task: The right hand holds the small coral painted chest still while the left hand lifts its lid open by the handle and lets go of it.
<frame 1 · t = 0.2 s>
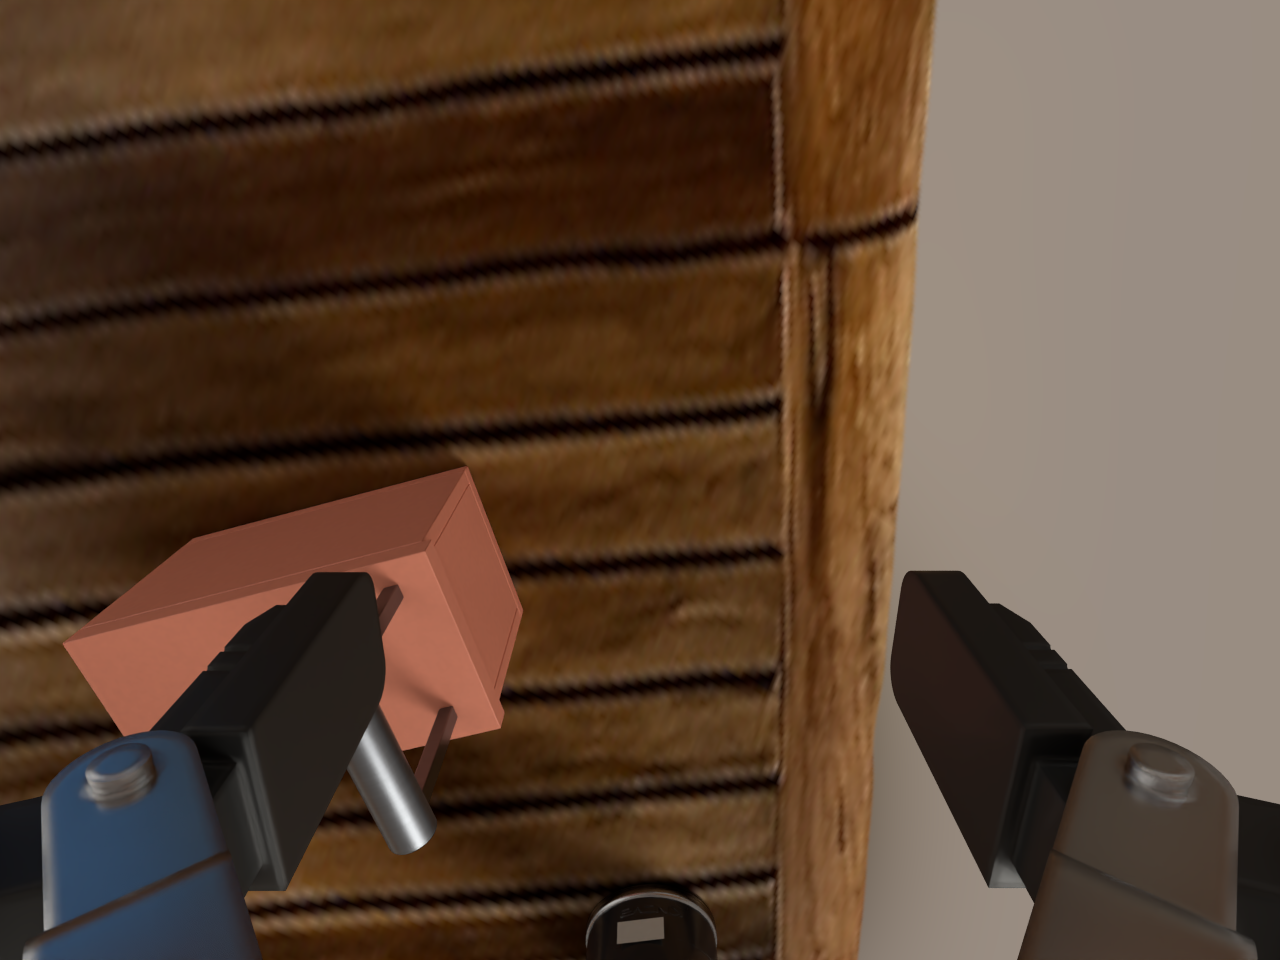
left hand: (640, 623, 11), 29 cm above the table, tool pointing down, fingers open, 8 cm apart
lid: (253, 734, 31), point 14 cm above the table, hinge at 0.0°
chest: (361, 574, 44), on the table
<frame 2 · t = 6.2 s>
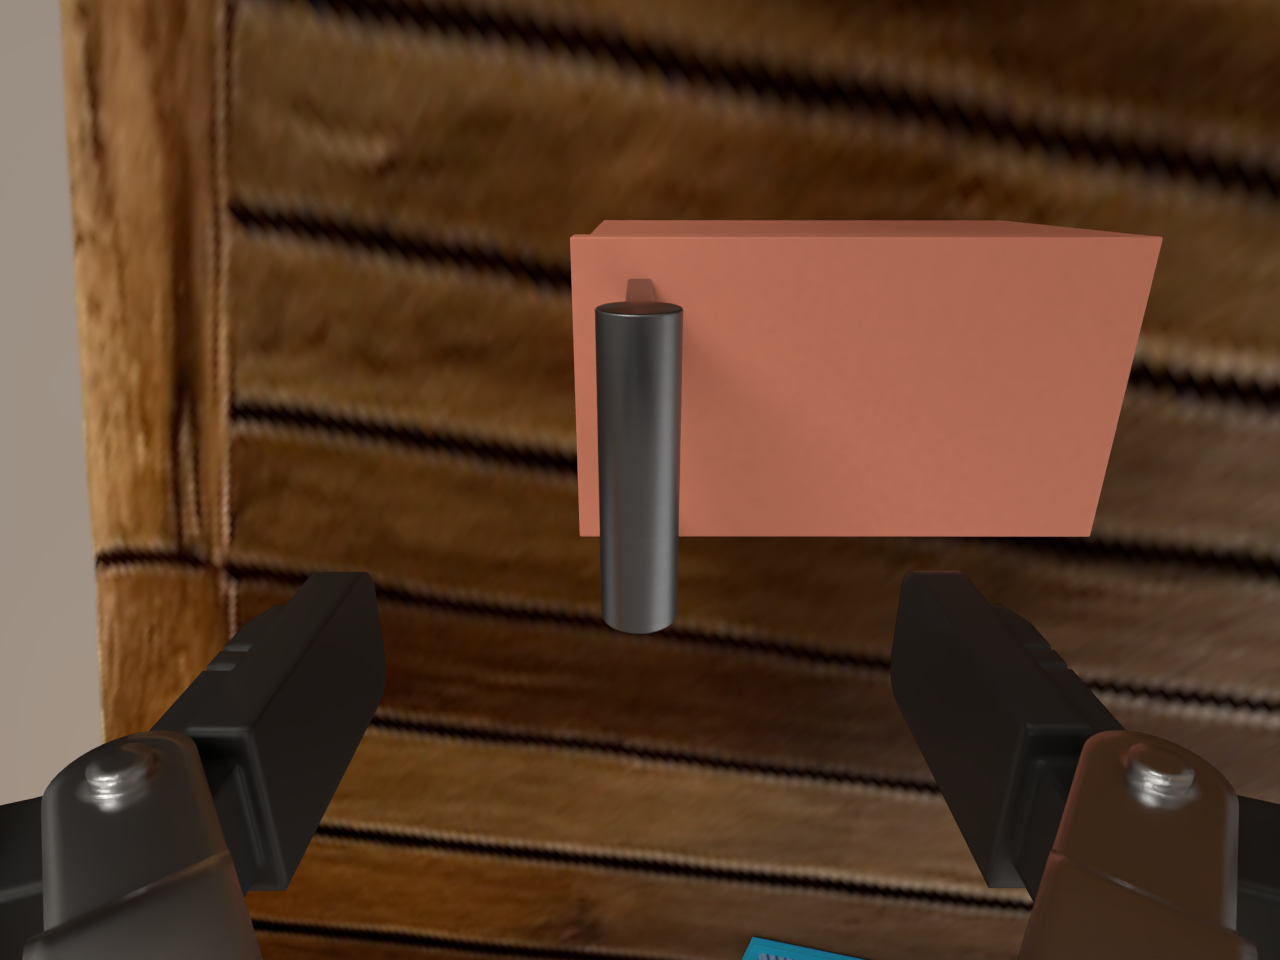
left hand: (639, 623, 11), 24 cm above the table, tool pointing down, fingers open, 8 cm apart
lid: (879, 429, 21), point 14 cm above the table, hinge at 0.0°
chest: (793, 334, 33), on the table
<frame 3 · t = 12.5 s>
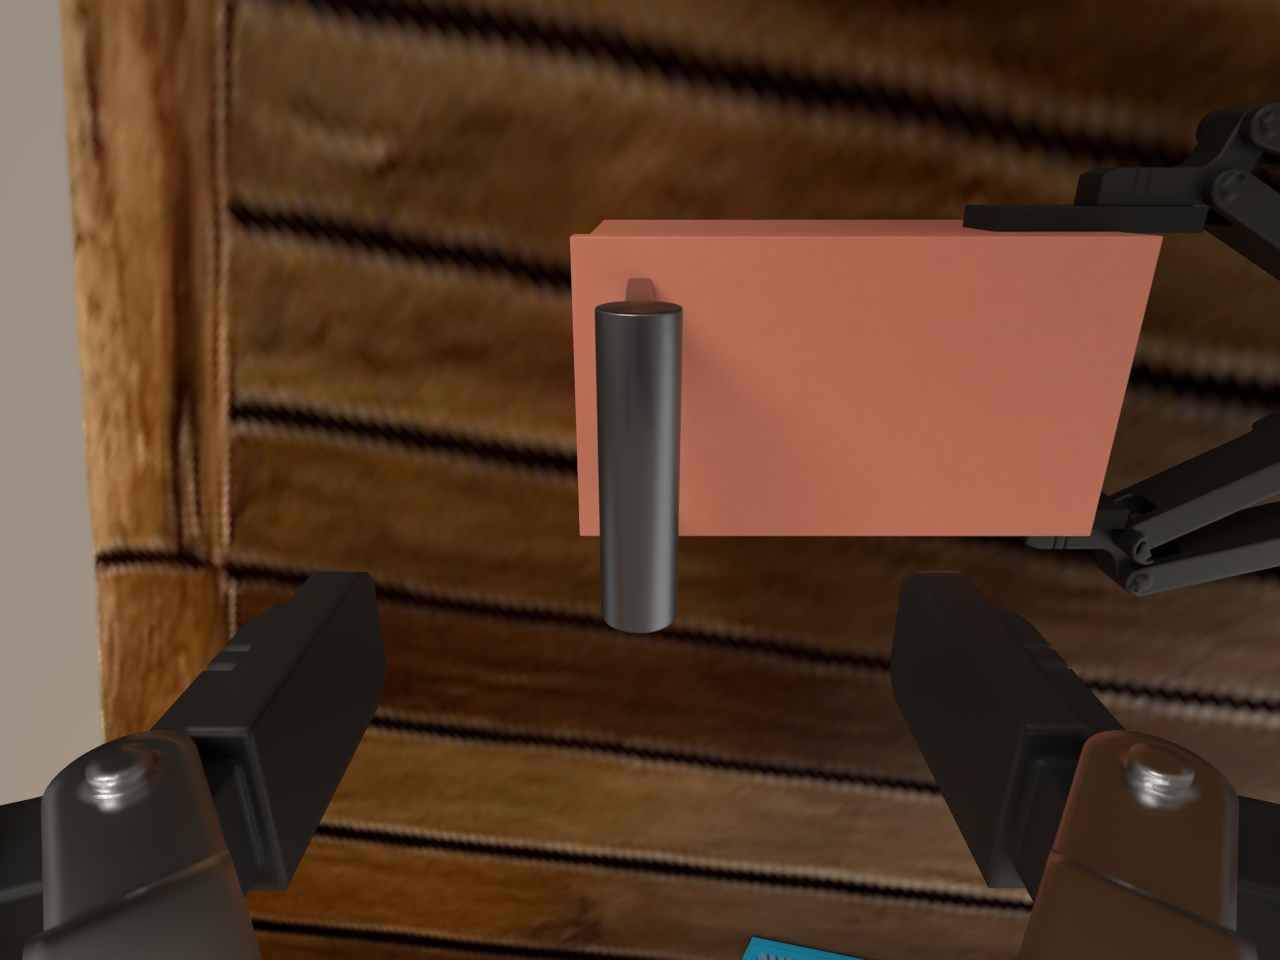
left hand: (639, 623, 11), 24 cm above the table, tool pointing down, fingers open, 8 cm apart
lid: (879, 428, 21), point 14 cm above the table, hinge at 0.0°
chest: (793, 334, 33), on the table, touching right hand
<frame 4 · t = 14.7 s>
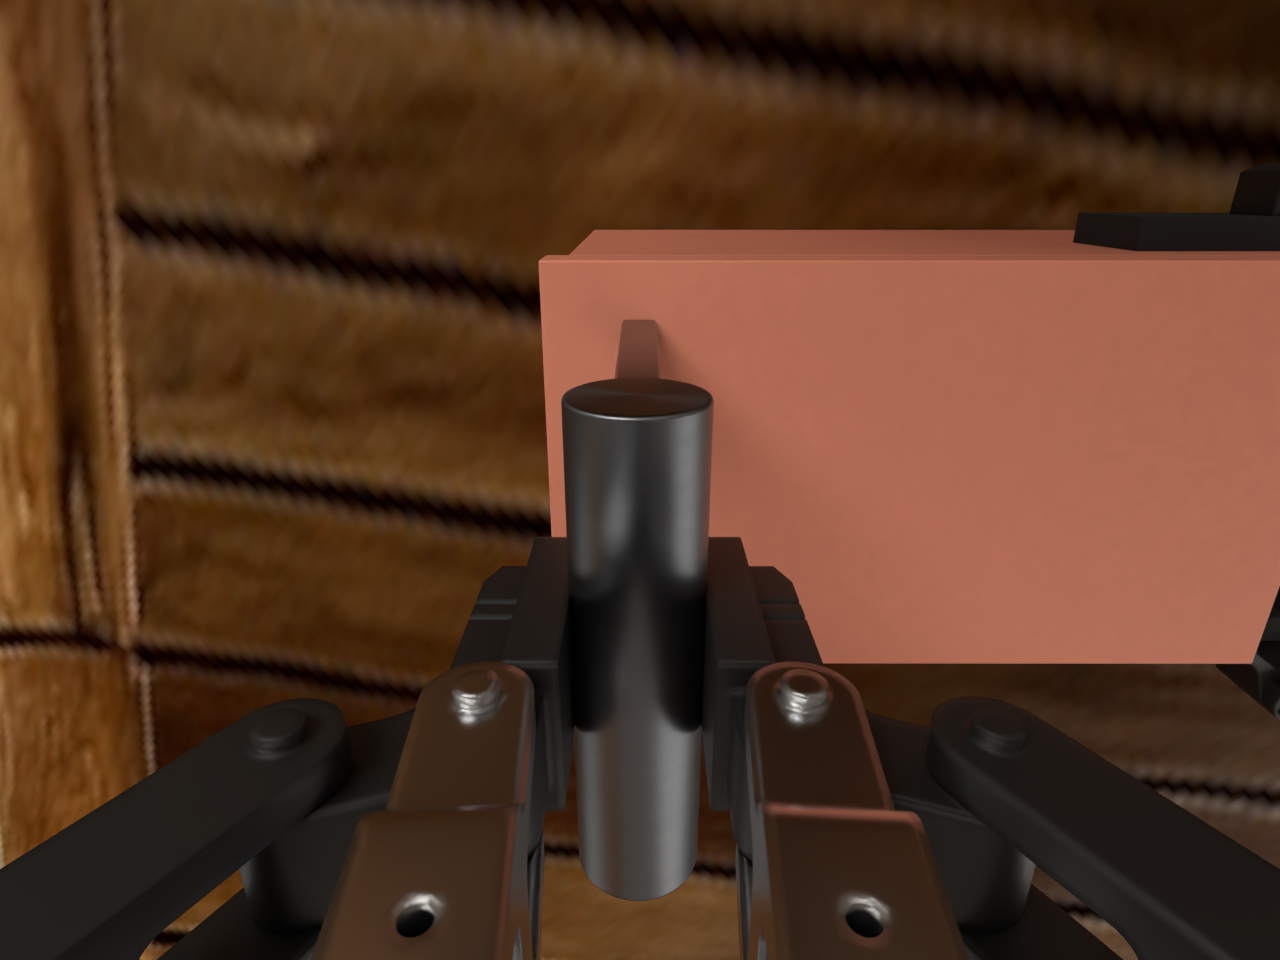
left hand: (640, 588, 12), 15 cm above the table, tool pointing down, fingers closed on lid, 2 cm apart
lid: (994, 547, 14), point 14 cm above the table, hinge at 0.1°, touching left hand
chest: (832, 372, 27), on the table, touching right hand
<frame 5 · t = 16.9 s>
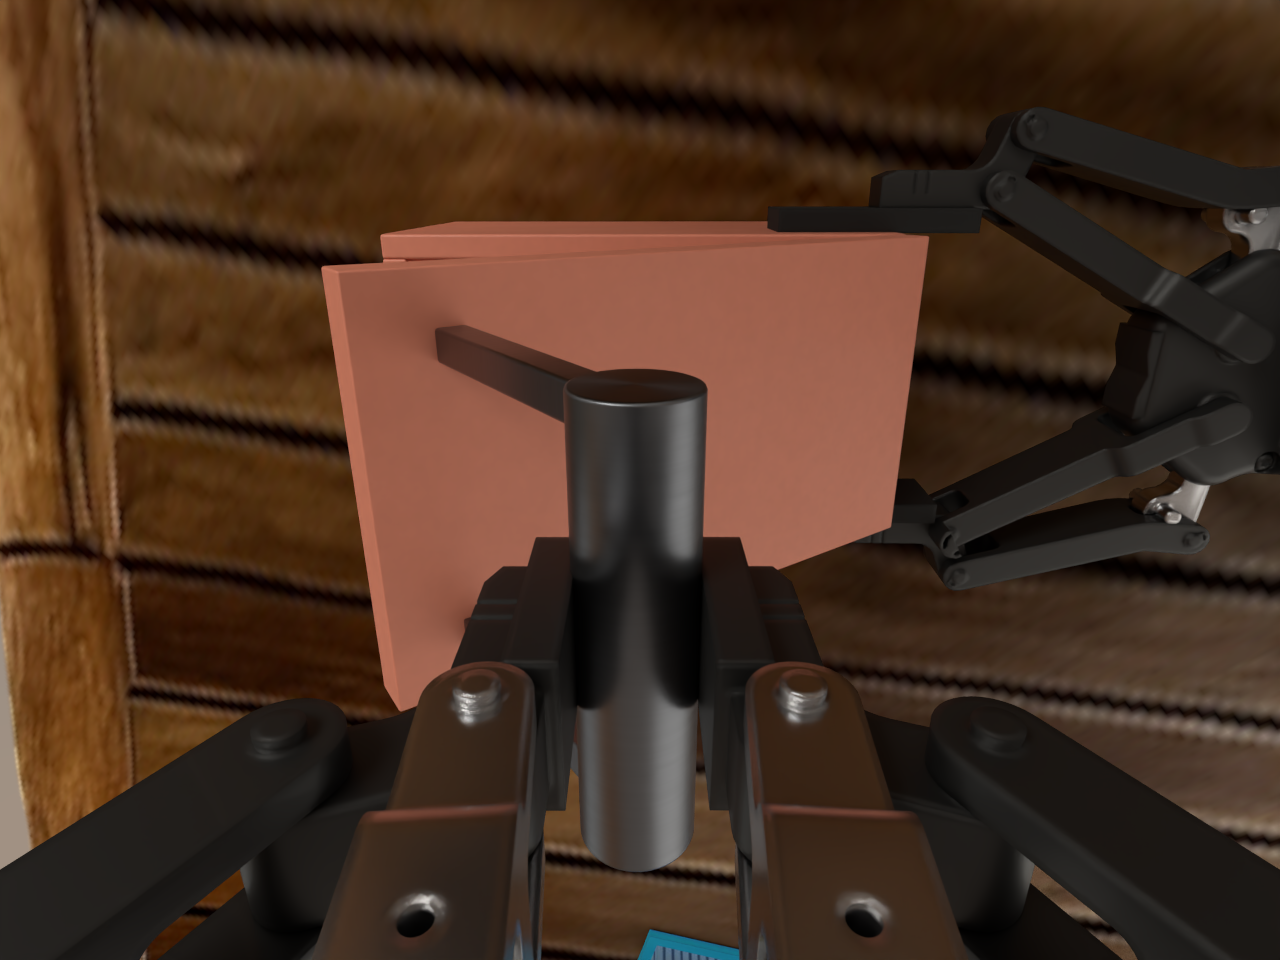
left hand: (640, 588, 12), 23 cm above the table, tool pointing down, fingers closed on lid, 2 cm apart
right hand: (764, 368, 27), fingers closed on chest, 10 cm apart
lid: (789, 475, 17), point 18 cm above the table, hinge at 36.3°, touching left hand
chest: (646, 333, 34), on the table, touching right hand
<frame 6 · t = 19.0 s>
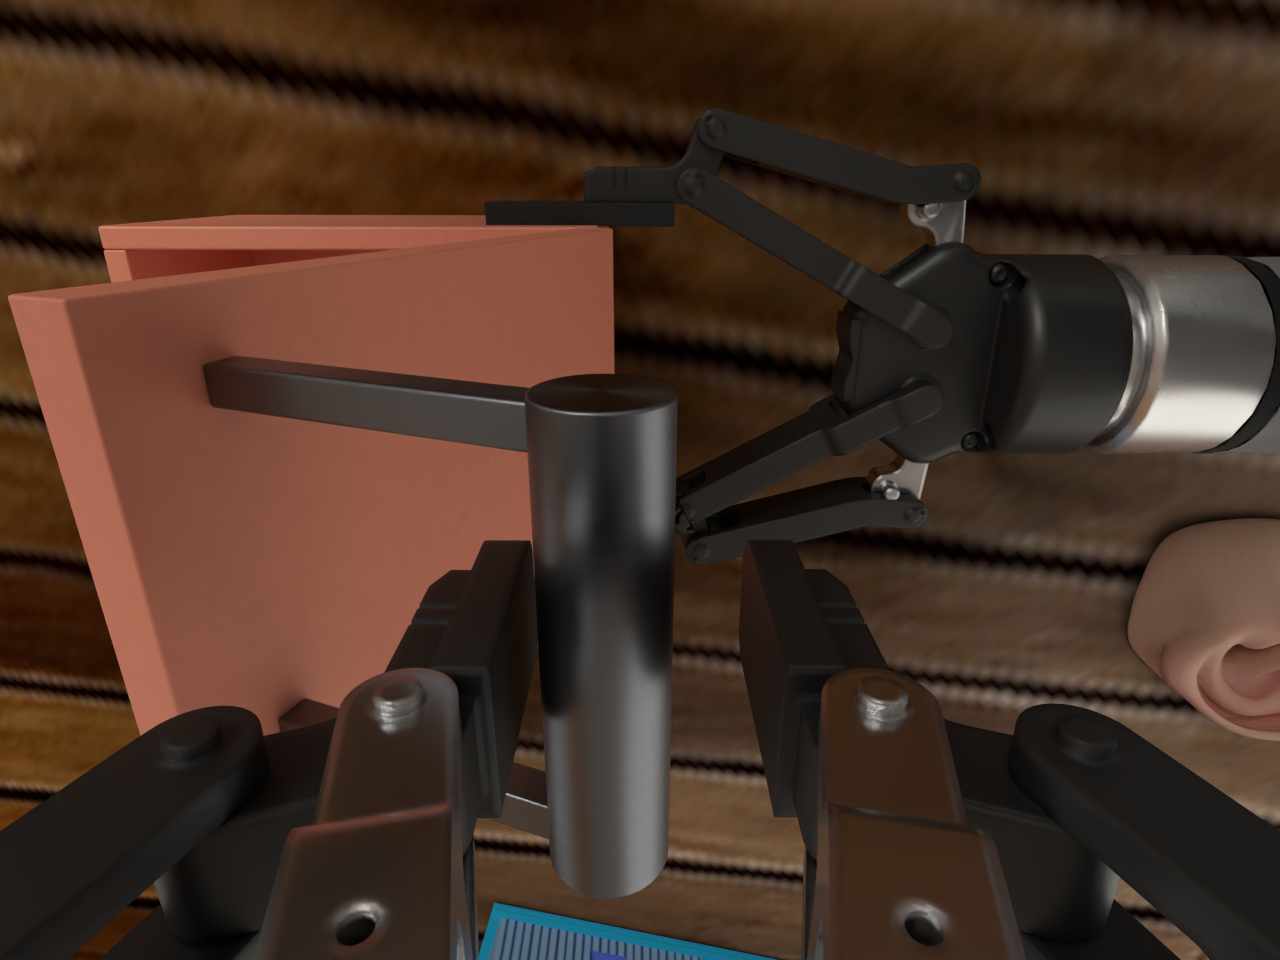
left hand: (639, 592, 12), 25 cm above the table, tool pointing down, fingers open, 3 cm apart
right hand: (502, 355, 29), fingers closed on chest, 10 cm apart
lid: (591, 467, 18), point 19 cm above the table, hinge at 68.0°
chest: (433, 322, 36), on the table, touching right hand
anatomical model: (1231, 614, 41), on the table
when the right hand's fingers open (7 cm above the table, at t = 22.8 s): chest stays where it is, on the table.
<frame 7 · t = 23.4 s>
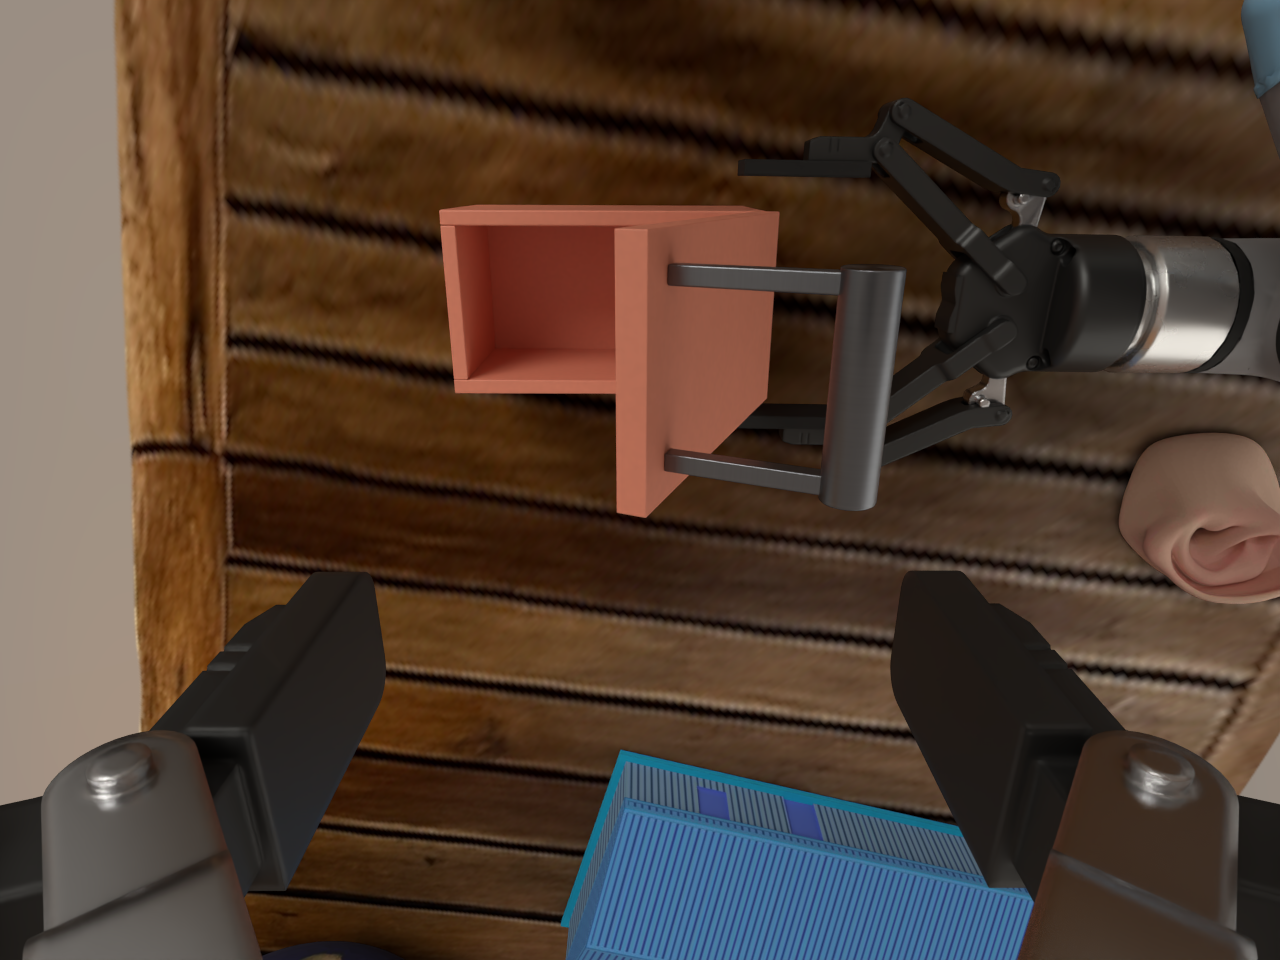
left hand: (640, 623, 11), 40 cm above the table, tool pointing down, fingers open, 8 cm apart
right hand: (732, 298, 42), fingers open, 13 cm apart
lid: (798, 344, 31), point 19 cm above the table, hinge at 67.0°
chest: (610, 284, 49), on the table
model building: (792, 893, 69), on the table
anatomical model: (1198, 509, 55), on the table
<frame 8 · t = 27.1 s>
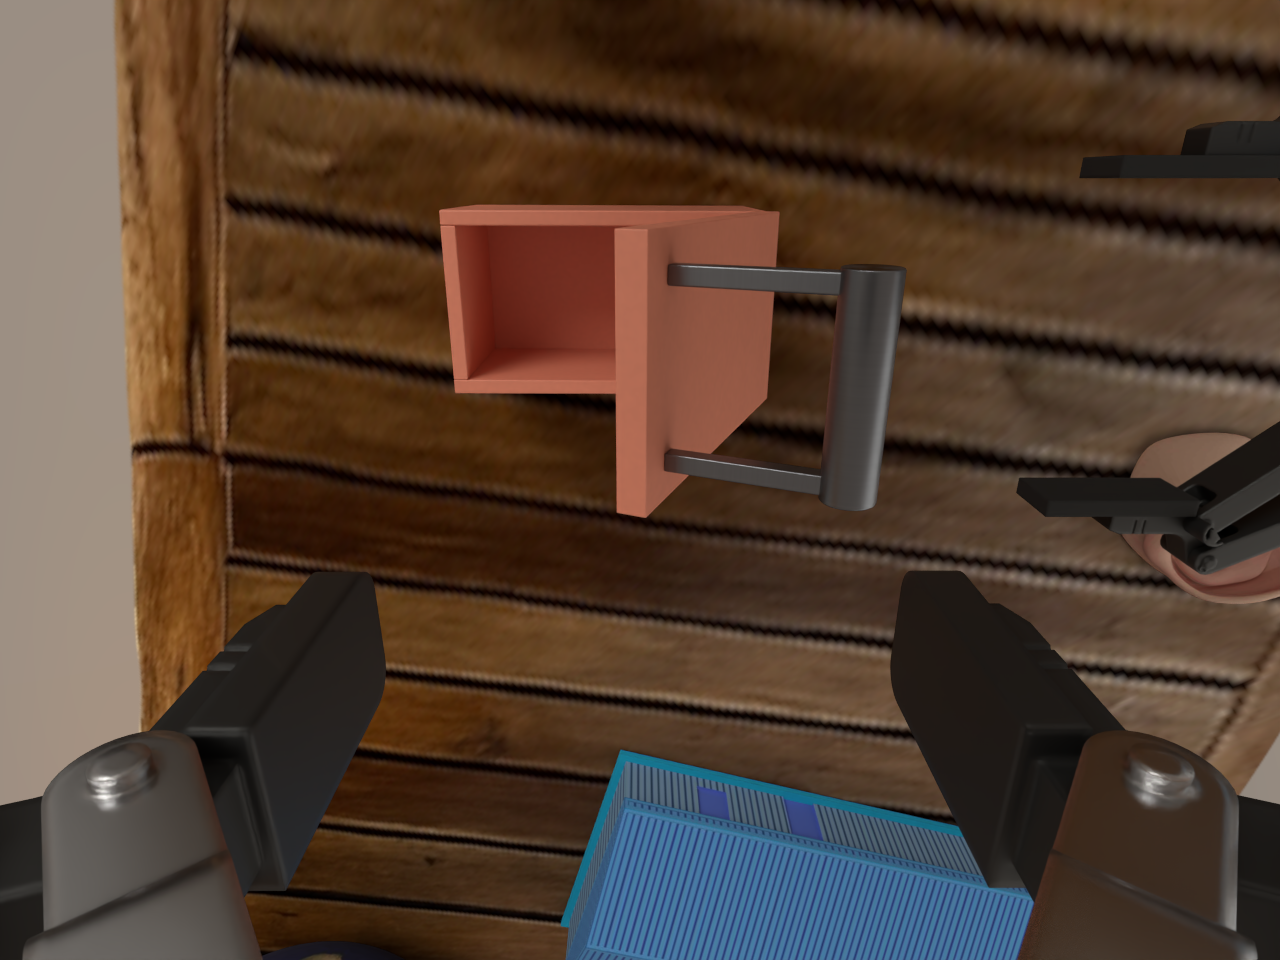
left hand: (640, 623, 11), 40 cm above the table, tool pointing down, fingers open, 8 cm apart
lid: (798, 344, 31), point 19 cm above the table, hinge at 67.0°
chest: (610, 284, 49), on the table
model building: (792, 893, 69), on the table
anatomical model: (1198, 509, 55), on the table
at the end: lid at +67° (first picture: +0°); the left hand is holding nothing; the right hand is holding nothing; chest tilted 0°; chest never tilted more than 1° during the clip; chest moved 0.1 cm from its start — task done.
